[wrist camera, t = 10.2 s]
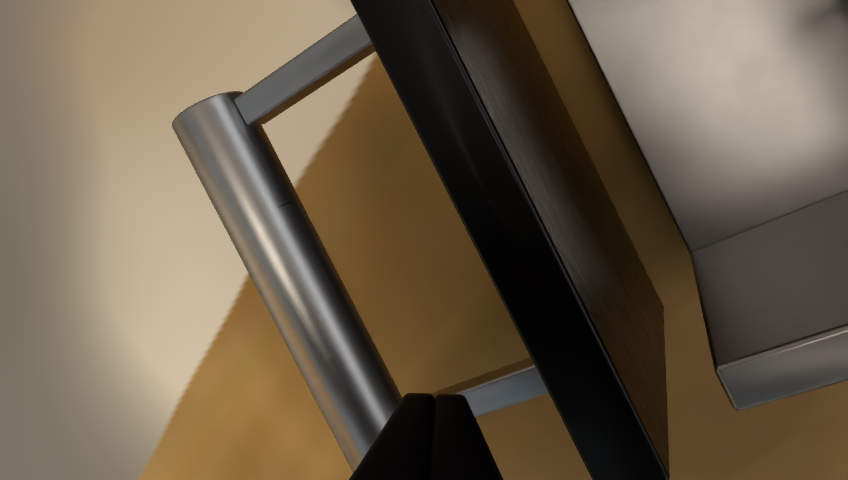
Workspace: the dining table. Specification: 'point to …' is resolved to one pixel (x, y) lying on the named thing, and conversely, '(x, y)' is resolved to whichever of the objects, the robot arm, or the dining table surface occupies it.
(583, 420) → the drawer with bar handle
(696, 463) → the dining table surface
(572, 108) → the dining table surface
